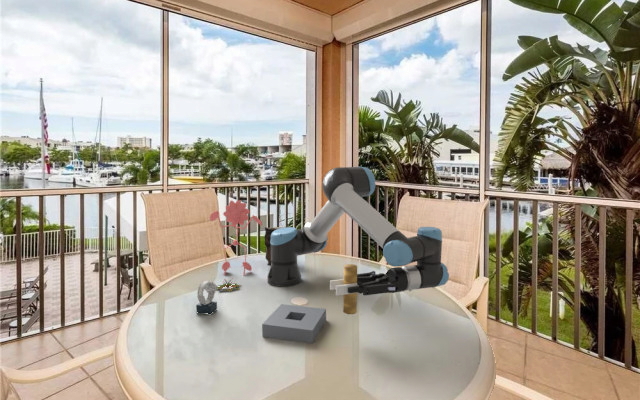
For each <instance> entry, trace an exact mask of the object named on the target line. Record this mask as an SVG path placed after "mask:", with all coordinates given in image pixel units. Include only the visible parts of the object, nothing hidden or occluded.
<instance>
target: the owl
mask: <svg viewBox="0 0 640 400" xmlns="http://www.w3.org/2000/svg"><path fill="white" fill-rule="evenodd" d="M287 227H288V226H285V227H283V226H280V227H279V226H274V227H266V226H265V227H264V231H265V233H264V245H265V248H266V250H265V259H266V261H267V266H269V267H271V244H270V240H271V234H272V232H273V231H275V230H277V229H280V228H287Z"/></svg>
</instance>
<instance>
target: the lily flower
mask: <svg viewBox="0 0 640 400" xmlns="http://www.w3.org/2000/svg"><path fill="white" fill-rule="evenodd" d="M232 280H233V278H230V279H229V280H228V279H227V280H226V278H224V280H223V282H222V284H220V285H218V286H220V287H217V288H218V289H217V288H216V290H220V289H222V288H223V287H225V286H226V287H227V288H225V289H224V291H225V290H227V292H230V291H231V292H232V291H233V289H234V287H236V288H237V289H235V291H237V290H239V289H240V287H241V285H240V284H238V283H235V282H234V283H233V281H232ZM226 284H227V285H226ZM232 284H235V285H232ZM231 285H232V286H231ZM229 286H231V287H233V288H231V287H229ZM230 288H231V289H230ZM240 290H241V289H240Z"/></svg>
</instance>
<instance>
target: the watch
mask: <svg viewBox="0 0 640 400" xmlns="http://www.w3.org/2000/svg"><path fill="white" fill-rule="evenodd" d="M217 286H218V285H216V283H215V282H213V281H212V280H204V281H202V282H201V283H200V284H199V285H198V288H197V300H198V303H197V304H196V306H195V308H196V310H195V311H196V313H197V312H198V313H208V314H211V313H212V312H214V311H215V310H216V309H217V310H218V304H217V303H218V301H215V300H214V301H213V299H214V297H215V294H216V292H217V289H216V288H217ZM204 290H205V291H206V293H207V294H208V295H207V297H206V298H205V296H204ZM217 310H216V311H217ZM216 311H215V312H216ZM215 312H214V313H215ZM211 315H212V314H211Z"/></svg>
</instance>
